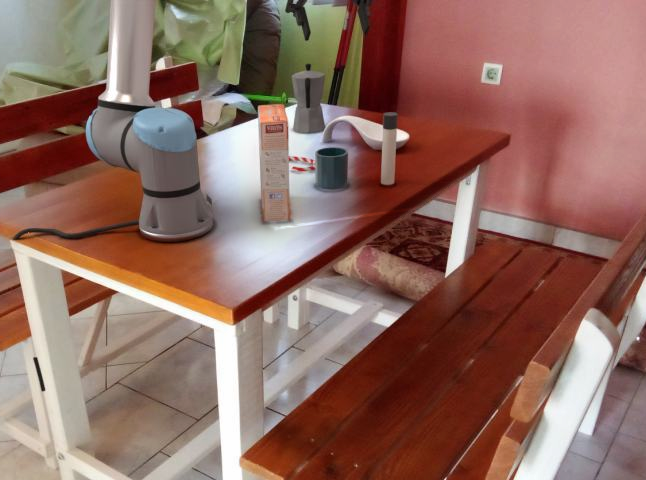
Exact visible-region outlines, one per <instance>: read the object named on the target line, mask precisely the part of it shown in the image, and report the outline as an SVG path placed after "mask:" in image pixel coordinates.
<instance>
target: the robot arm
mask: <svg viewBox="0 0 646 480" xmlns="http://www.w3.org/2000/svg"><path fill="white" fill-rule="evenodd" d="M294 1H295V0H287V1H286V5H285V8H284V12H285V13H286V14H290V13H292V17H293V18H295V23H296V25H297V26H298V27H301V30H302V34H303V37H304V41H305V42H308V41H309V40H310V37H311V33H312V31H311V28H310V27H311V26H310V23H309V20H308V15H307V10H306V7H305V5H306V3H307V2H308V0H297V1H296V2H295V3H294ZM349 2H351V3H352V4H353V5H355V6H356V7H357V9H356V10H357V11H356V12H357V15H358V16H357V17H358V19H359V24H360V26H361V31H362V35H363V36H367V35H368V33H369V31H370V29H371V24H370V20H369V19H370V16H371V11H370V7H371V6H372V4H373V2H374V0H349ZM155 13H156V0H110V12H109V28H108V29H109V30H108V49H107V68H106V69H107V70H106V85H105V86H106V87H105V90H104V91H103V92H102V93H101V94H100V95H99V96H98V99H97V108H95V109H94V110H93V111H92V114H91V115H89V117H88V119H87V121H86V126H85V138H86V142H87V145H88V148H89V149H90V151H91V152H92V153H93V155H94V156H95V157H96V158H97V159H98V160H100V161H101V162H104V163H106V164H108V165H109V166H112V167H114V168H121V169H124V170H128V171H131V172H133V173H137V174H140V179H141V187H142V193H143V197H142V203H141V208H140V213H139V219H136V220H130V221H126V222H121V223H115V224H111V225H106V226H102V227H97V228H93V229H89V230H85V231H81V232H74V233H71V232H69V233H67V232H64V231H61V230H59V229H55V228H45V227H43V228H42V227H29V228H25V229H22V230H20V231H18V232H17V233H15V235H14V236H13V237H12V241H17V240H19V239H20V238H21V237H22V236H24V235H27V234H33V233H35V234H36V233H38V234H54V235H56V236H59V237H62V238H64V239H76V238H77V239H78V238H83V237H87V236H90V235H95V234H98V233H104V232H109V231H113V230H117V229H123V228H127V227H128V228H129V227H133V226H138V228H139V233H140V235H141V236H142V237H143V238H145V239H147V240H151V241H154V242H160V243H176V242H177V243H178V242H183V241H189V240H193V239H197V238H199V237H201V236H204V235H206V234H207V233H209V232H210V231H211V230H212V228H213V226H214V221H213V215H212V212H211V209H210V208H209V206H208V203H209V205H210V206H213V199H212V198H211V197H210V196H209V194H207V193H205V196H204V193H203V191H202V188H201V179H200V166H199V164H200V163H199V154H198V153H199V152H198V140H197V132H196V129H195V123H194V120H193V118H192V117H191V116H190V115H189V114H188V113H186V112H185V111H182V110H180V109H177V108H173V107H167V108H166V107H160V106H159V107H158V106H157V107H156V103H155V101H154V100H153V99H152V97H151V96H150V83H151V81H150V80H151V68H152V57H153V55H152V54H153V42H154V27H155V15H156V14H155ZM205 197H206V198H205ZM28 232H29V233H28ZM32 359H33V363H34V366H35V370H36V374H37V377H38V382H39V387H40V391H41V392H45V391H46V387H45V382H44V377H43V374H42V369H41V366H40V362H39V357H38V356H34V357H32Z"/></svg>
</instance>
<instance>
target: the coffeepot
mask: <svg viewBox="0 0 646 480" xmlns="http://www.w3.org/2000/svg"><path fill="white" fill-rule="evenodd" d="M304 66H305V70H302V71H299V72H296V73H294V74H292V75H291V82H292V87H293V88H292V89H293V93H294V100H295V101H296V107H295V112H294V117H293V118H294V119H293V125H292V129H293V131H294V132H296V133H299V134H317V133H320V132H322V131H324V130H325V128H326V125H325V119H324V112H323V106H322V105H321V100H322V99H323V95H324V87H325V79H326V74H325V73H323V72H322V71H317V70H311V69H312V64H311V63H306V64H304Z"/></svg>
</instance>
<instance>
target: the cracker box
mask: <svg viewBox="0 0 646 480" xmlns="http://www.w3.org/2000/svg"><path fill="white" fill-rule="evenodd" d="M286 111H287V110H286V106H285V104H283V103H273V104H261V105H257V125H258V150H259V154H258V155H259V174H260V175H259V176H260V177H259V179H260V200H261V209H262V212H261V213H262V219H263V222H264V223H266V222H272V221H273V222H274V221H288V220H291V210H290V209H291V207H290V206H291V205H290V204H291V202H290V161H289V156H290V154H289V153H290V151H289V150H290V149H289V148H290V147H289V146H290V145H289V144H290V143H289V141H290V140H289V119H288V115H287V112H286Z"/></svg>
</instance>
